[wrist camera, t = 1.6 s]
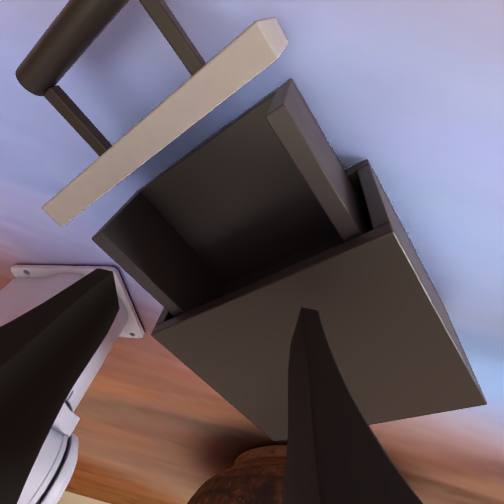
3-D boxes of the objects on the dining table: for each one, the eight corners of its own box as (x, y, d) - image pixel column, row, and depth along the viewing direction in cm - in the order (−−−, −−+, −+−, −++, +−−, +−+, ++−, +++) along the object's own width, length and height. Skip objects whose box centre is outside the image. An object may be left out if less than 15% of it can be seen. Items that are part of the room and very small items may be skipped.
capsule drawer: (37, 91, 18) (-58, 119, 13) (206, -109, 12) (144, -178, 8) (220, 289, 24) (199, 353, 20) (383, 215, 19) (405, 280, 14)
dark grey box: (190, 255, 24) (149, 335, 18) (367, 158, 18) (393, 231, 12) (281, 354, 29) (273, 441, 23) (443, 304, 23) (487, 405, 17)
